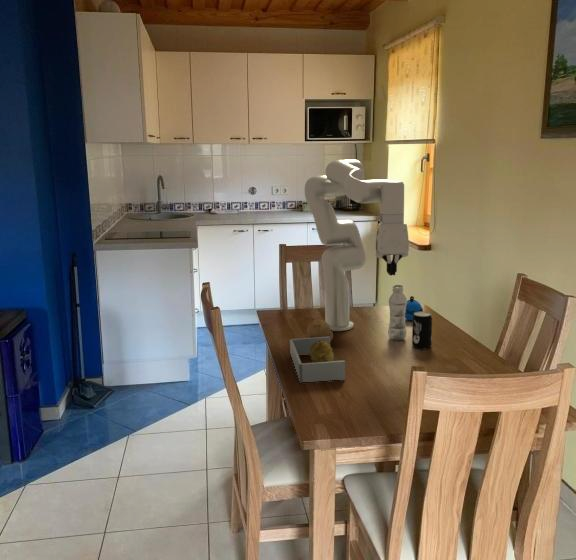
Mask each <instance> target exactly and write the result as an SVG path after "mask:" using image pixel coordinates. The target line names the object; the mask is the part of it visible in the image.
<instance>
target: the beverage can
mask: <svg viewBox="0 0 576 560" xmlns="http://www.w3.org/2000/svg"><path fill="white" fill-rule="evenodd" d="M411 326H412V328H411V329H412V332H411V334H412V335H411V336H412V337H411V344H412V346H413V347H414V348H415V349H419V350H427V349H429V348H431V346H432V340H433V337H432V336H433V334H432V333H433V317H432V313H430V312H429V311H424V310H423V311H419V312H415V313H414V316H413V321H412V325H411Z"/></svg>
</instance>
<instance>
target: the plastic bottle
mask: <svg viewBox="0 0 576 560" xmlns="http://www.w3.org/2000/svg"><path fill="white" fill-rule="evenodd" d="M391 291H392V293H391V295H390V296H389V298H388V307H389V325H388V330H387V335H388V338H389V339H390V340H393V341H403V340H405V339H406V336H407V326H406V318H405V312H406V305H407V301H408V299H407V297H406V295H405V293H403V292H404V285H402V284H393V285H392V290H391Z"/></svg>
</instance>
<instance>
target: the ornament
mask: <svg viewBox="0 0 576 560" xmlns="http://www.w3.org/2000/svg"><path fill="white" fill-rule="evenodd" d="M419 311H424V309H423V306H422V304H421V303H420V302H419V301H417V300H415V296H412V295H411V296H410V297H409V299H407V305H406V312H405V320H407V321H410V322H411V321H412V322H413V316H414V313H415V312H419Z"/></svg>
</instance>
